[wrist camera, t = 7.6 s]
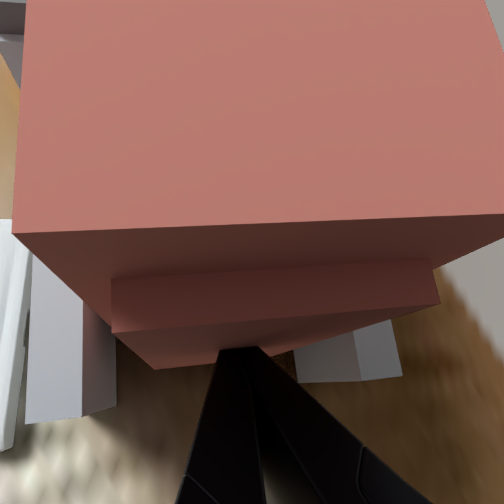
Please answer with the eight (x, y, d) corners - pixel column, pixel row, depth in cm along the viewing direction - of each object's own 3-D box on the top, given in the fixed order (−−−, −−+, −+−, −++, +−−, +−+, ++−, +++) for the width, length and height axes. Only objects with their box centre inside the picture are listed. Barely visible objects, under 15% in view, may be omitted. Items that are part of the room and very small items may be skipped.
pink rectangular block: (273, 358, 16) (583, 269, 4) (142, 372, 15) (7, 313, 3) (254, 205, 18) (420, -174, 6) (137, 208, 17) (41, -242, 5)
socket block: (325, 379, 17) (511, 370, 7) (82, 410, 15) (-71, 448, 6) (294, 182, 19) (402, -4, 10) (84, 186, 17) (-17, -38, 8)
